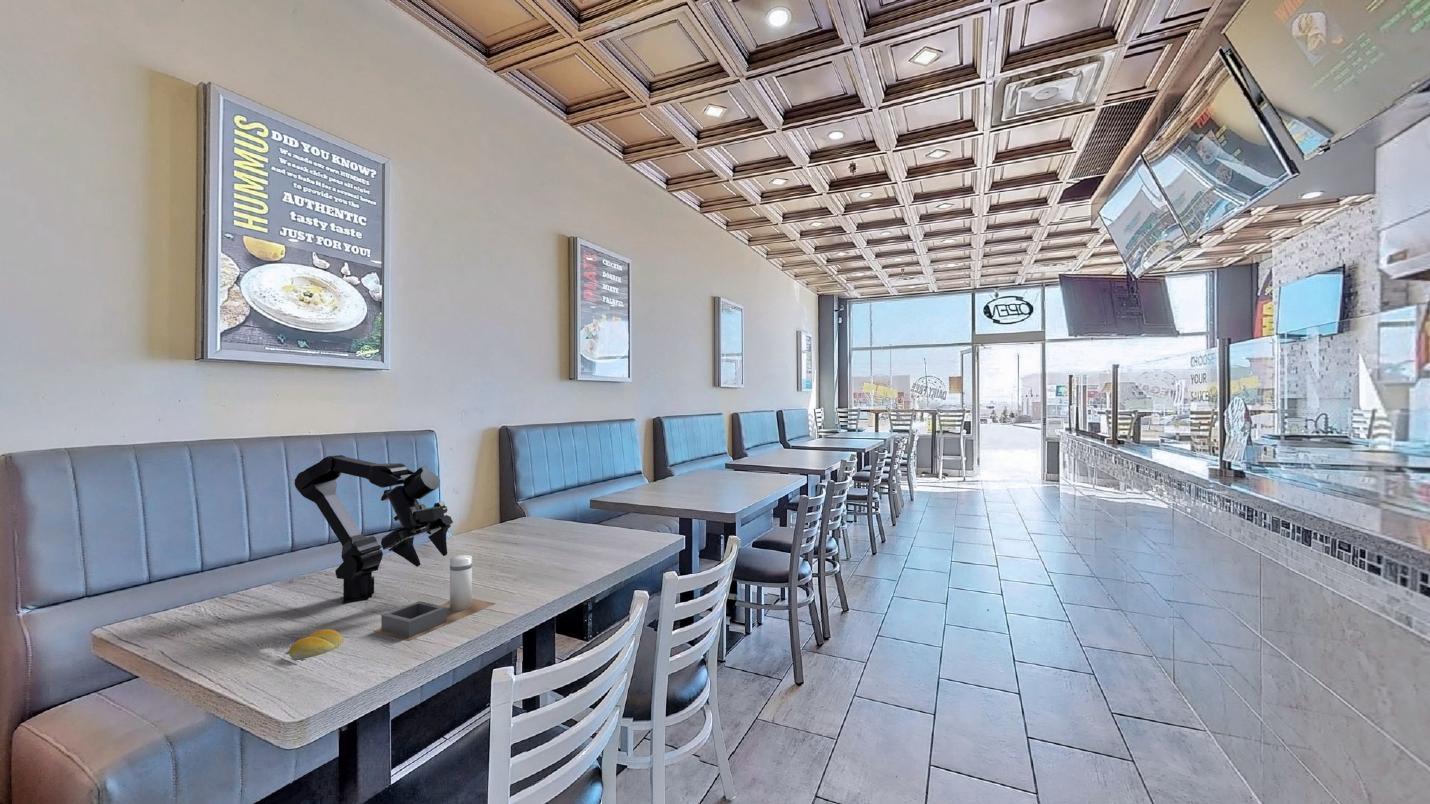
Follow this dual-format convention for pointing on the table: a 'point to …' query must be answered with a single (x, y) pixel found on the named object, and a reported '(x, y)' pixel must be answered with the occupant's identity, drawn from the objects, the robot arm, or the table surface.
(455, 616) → the board
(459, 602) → the white capped cylinder
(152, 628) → the table surface
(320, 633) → the bread roll
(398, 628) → the socket collar
